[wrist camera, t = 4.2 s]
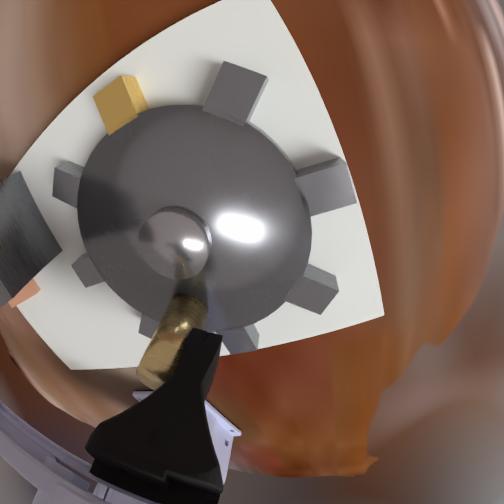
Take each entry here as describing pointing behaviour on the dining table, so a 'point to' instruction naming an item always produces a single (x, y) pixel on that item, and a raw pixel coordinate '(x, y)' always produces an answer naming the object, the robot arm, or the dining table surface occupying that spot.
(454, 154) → the dining table surface
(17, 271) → the grey rectangular block
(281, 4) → the dining table surface
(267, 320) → the board
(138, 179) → the sprocket
